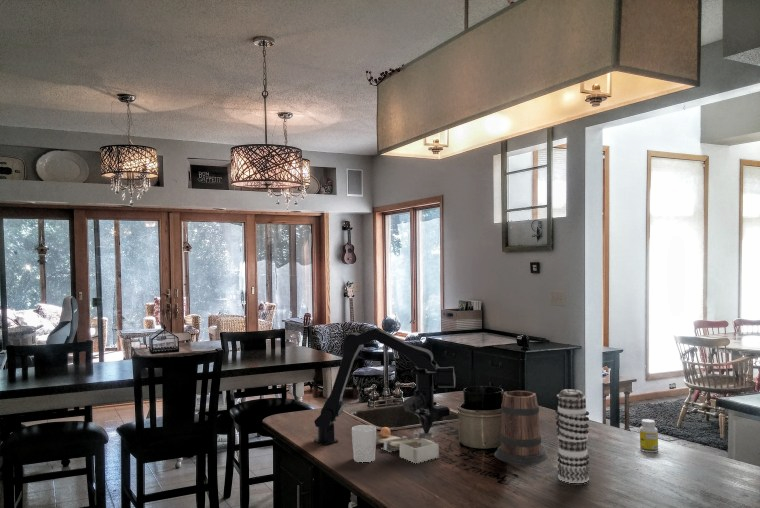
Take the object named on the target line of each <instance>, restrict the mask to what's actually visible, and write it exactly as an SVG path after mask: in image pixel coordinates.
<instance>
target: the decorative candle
mask: <svg viewBox="0 0 760 508" xmlns="http://www.w3.org/2000/svg"><path fill="white" fill-rule="evenodd" d="M556 397H557V401H558V404H557V409H555V410H554V411H555V413H556V415H555V420H556V422H555V425H556V426H557V427H556V435H557V436H556V437H557V438H558V443H559V444H558V452H557V456H558V458H557V462H558V464H557V468H558V469H557V474H558V479H559V481H561V480H562V481H561V482H563V481H565V482H564V483H566V482H569V483H568V484H570V483H584V482H587V481H588V480H589V481H590V478H589V477H590V472H589V471H590V467H589V466H588V465H589V464H590V461H589V458H590V456H589V455H588V447H587V441H588V440H589V436H588V435H587V434H589V433H590V432H589V430H588V428H589V427H590V426H589V424H588V423H586V422H589V421H590V417H588V416H589V415H590V412H589V411H587V407H586V406H587V405H586V398H587V396H586V395H585V394H584V393H583V391H581V390H579V389H571V388H567V389H566V388H565V389H562V390H561V391H560V392H559V393H558V394H556ZM587 483H588V482H587ZM584 484H585V483H584Z"/></svg>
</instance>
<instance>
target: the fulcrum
mask: <svg viewBox="0 0 760 508" xmlns="http://www.w3.org/2000/svg"><path fill="white" fill-rule="evenodd" d="M402 438H404V439H408V436H406V435H403V436H402ZM380 448H381V449H380V450H382V449H383V450H382V451H384V450H386V451H388V452H387V453H389V452H390V453H393V452H392V451H394V452H396V451H397V450H398V451H400V447H396V446H392V445H389V441H387V440H384V443H383V447H380ZM386 451H385V452H386ZM398 451H397V452H398Z"/></svg>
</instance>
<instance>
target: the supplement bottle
mask: <svg viewBox="0 0 760 508" xmlns="http://www.w3.org/2000/svg"><path fill="white" fill-rule="evenodd" d="M658 436H659V430H658V428H657V427H656V422H655V420H654V419H651V418H650V419H649V418H643V419H641V426H640V427H639V445H640V446H639V447H640V448H639V449H640V450H641V451H642V450H644V451H648V452H656V453H658V452H659V437H658ZM644 451H643V452H644ZM657 451H658V452H657ZM648 452H647V453H648Z"/></svg>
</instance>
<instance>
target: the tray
mask: <svg viewBox="0 0 760 508" xmlns="http://www.w3.org/2000/svg"><path fill="white" fill-rule="evenodd" d="M439 451H440V448H439V443H438V442H435V441H433V440H427V439H424V438H421V443H420V446H419V447H414V446H408V445H406V444H403V443H400V450H399V458H400V457H401V458H400V459H402V458H404V459H403V460H405V459H406V460H405V461H407V460H408V461H407V462H409V461H411V462H410V463H412V462H413V463H412V464H414V463H415V464H414V465H416V463H417V464H421V463H424V461H425V462H427V461H428V460H429V461H432V460H435V458H436V459H439V458H440V453H439ZM431 459H432V460H431ZM420 462H421V463H420Z"/></svg>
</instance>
